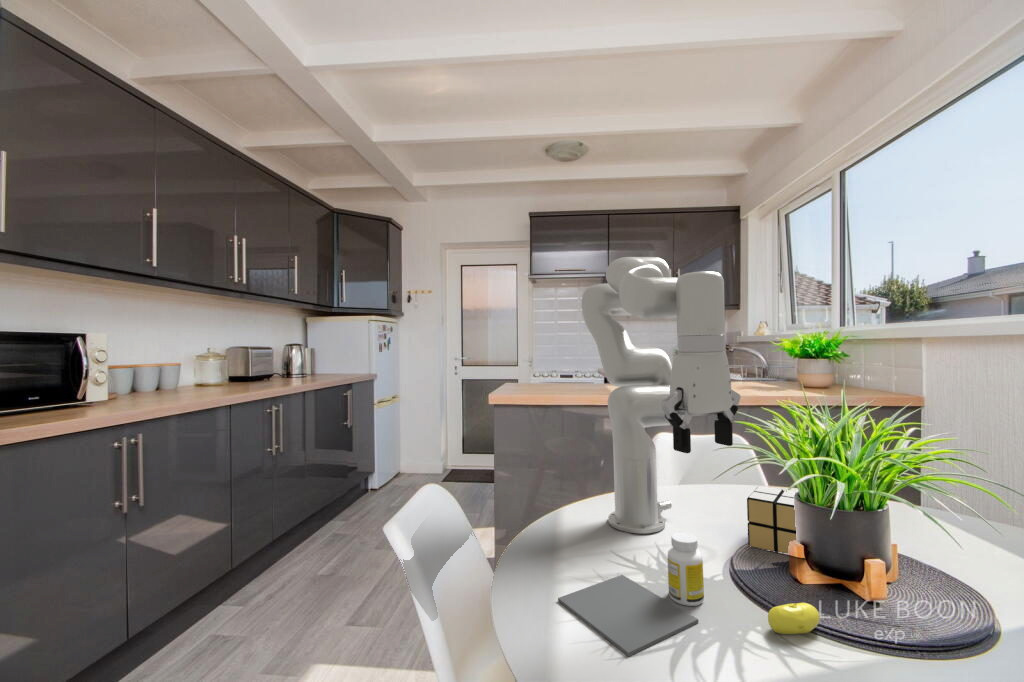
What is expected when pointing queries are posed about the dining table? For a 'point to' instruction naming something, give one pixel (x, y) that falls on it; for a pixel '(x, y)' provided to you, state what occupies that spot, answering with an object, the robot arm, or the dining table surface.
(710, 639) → the dining table surface
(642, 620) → the charcoal mat
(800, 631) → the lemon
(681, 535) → the supplement bottle
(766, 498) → the puzzle cube
